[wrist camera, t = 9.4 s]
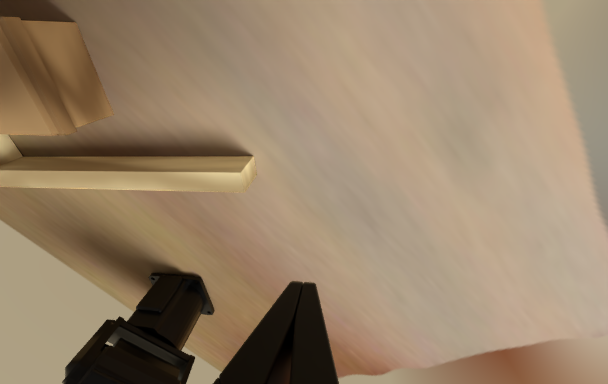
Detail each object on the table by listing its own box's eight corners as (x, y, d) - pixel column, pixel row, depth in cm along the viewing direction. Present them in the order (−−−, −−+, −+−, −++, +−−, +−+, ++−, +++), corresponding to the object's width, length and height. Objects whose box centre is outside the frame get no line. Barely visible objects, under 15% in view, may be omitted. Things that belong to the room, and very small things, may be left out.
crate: (120, 115, 20) (59, 137, 16) (46, 114, 21) (-29, 134, 17) (82, 20, 17) (-7, 16, 13) (-3, 24, 18) (-112, 22, 14)
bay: (257, 174, 21) (222, 226, 15) (8, 171, 25) (-89, 211, 19) (205, -106, 13) (91, -214, 7) (-148, -39, 17) (-389, -74, 11)
